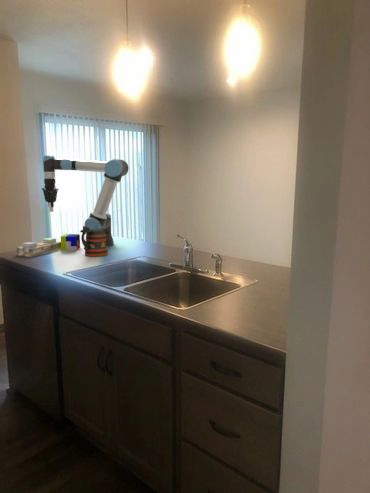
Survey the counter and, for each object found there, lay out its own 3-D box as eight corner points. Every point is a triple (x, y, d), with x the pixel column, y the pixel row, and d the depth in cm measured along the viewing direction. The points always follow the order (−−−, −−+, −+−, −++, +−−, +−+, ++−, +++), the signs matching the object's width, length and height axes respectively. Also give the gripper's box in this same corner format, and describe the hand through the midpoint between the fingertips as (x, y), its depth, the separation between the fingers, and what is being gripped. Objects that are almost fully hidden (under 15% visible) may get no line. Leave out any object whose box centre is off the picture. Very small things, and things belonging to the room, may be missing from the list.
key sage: (56, 244, 262) (56, 238, 261) (50, 245, 257) (49, 239, 256) (49, 243, 264) (49, 237, 264) (43, 244, 259) (42, 239, 258)
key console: (61, 249, 263) (61, 242, 263) (31, 257, 238) (31, 249, 237) (48, 247, 268) (47, 240, 267) (17, 255, 243) (16, 247, 242)
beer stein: (92, 259, 235) (91, 227, 231) (75, 256, 242) (73, 225, 238) (112, 254, 251) (111, 224, 248) (95, 251, 258) (94, 222, 254)
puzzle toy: (75, 251, 258) (75, 236, 256) (61, 250, 258) (60, 236, 256) (80, 248, 268) (79, 234, 266) (66, 248, 268) (65, 234, 266)
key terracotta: (47, 249, 254) (46, 243, 254) (40, 251, 249) (40, 245, 248) (40, 248, 257) (39, 242, 256) (33, 250, 251) (33, 244, 250)
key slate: (37, 248, 246) (36, 242, 245) (30, 250, 240) (29, 244, 240) (29, 248, 248) (29, 241, 247) (22, 249, 243) (22, 243, 242)
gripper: (38, 178, 266) (40, 211, 271) (53, 178, 261) (54, 212, 266) (46, 177, 273) (47, 210, 277) (60, 178, 268) (62, 211, 273)
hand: (51, 211), depth 272 cm, fingers closed
